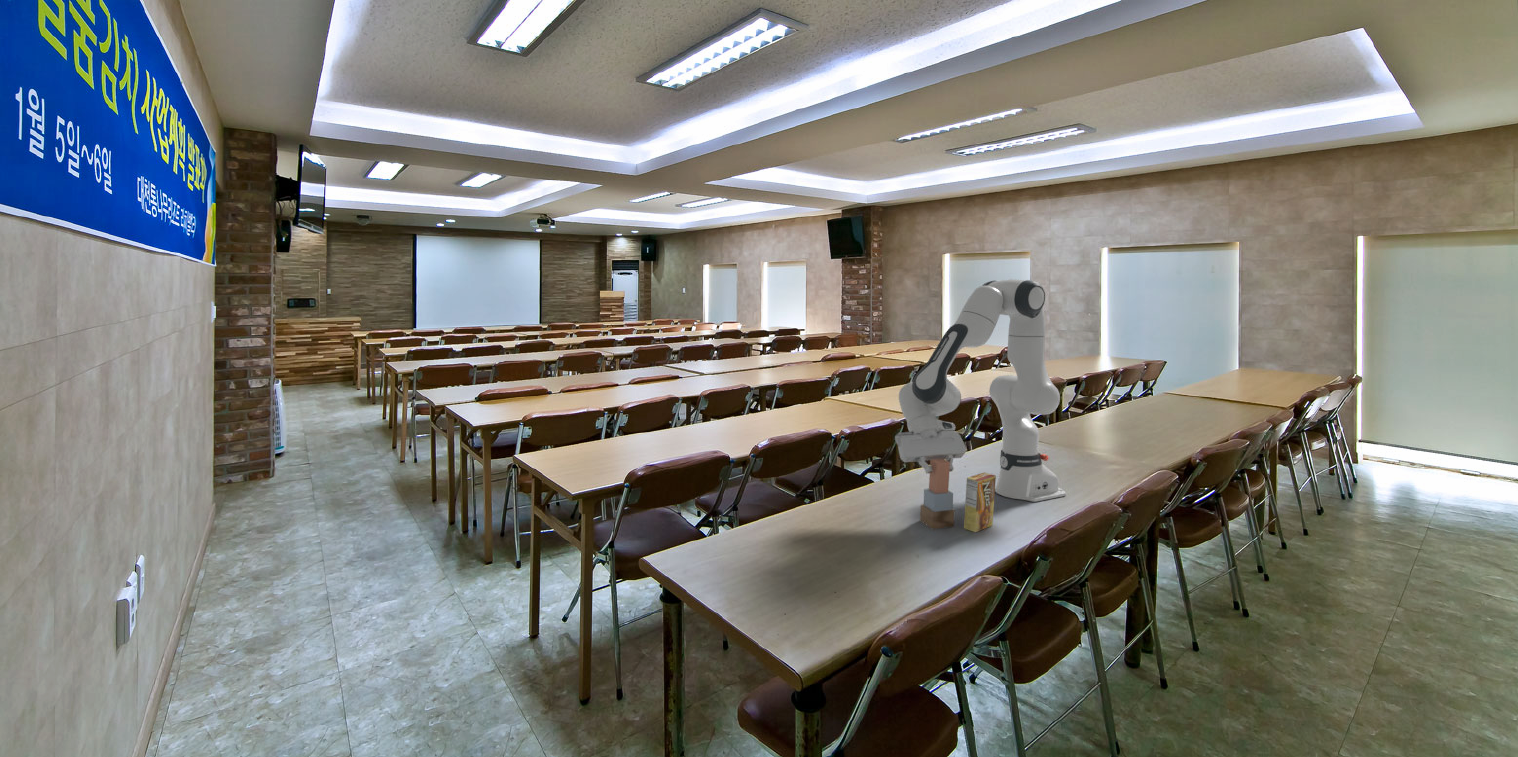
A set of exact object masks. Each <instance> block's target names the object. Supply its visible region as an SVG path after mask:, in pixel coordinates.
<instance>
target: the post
mask: <svg viewBox="0 0 1518 757" xmlns="http://www.w3.org/2000/svg"><path fill="white" fill-rule="evenodd" d="M929 461H930V462H929V466H930V465H931V466H932V469H933V472H932V473H929V481H928V488H929V490H931V491H933V492H934V493H948V491H949V485H950V484H949V483H950V472H949V470H950V462H948V461H946V459H930V460H929Z"/></svg>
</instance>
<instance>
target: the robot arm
mask: <svg viewBox="0 0 1518 757" xmlns="http://www.w3.org/2000/svg"><path fill="white" fill-rule="evenodd" d="M1045 301H1046V292H1045V290H1044V288H1043V286H1042V285H1041V283H1039V282H1037V281H1034V280H1030V279H1027V280H1024V279H1023V280H1022V279H1015V278H1014V279H1011V278H1010V279H1006V280H1005V279H1002V280H990V281H987V282H985V283H984V284H982V285H980V286H978V287H977V288H975V289H974V290H973V292H972V293H971V295H970V296H969V298H968V299H967V301H966V302H965V304H964V305H963V307H962V309H961V311H960V314H959V315H958V316H957V319H956V321H955V323H954V324H953V325H952V326H949V328H948V330H946V332H945V333H944V334H943V336H942V338H941V339H940V340H939V343H938V344H937V346H936V347H935V348H934V350H933V353H932V354H931V356H930V357H929V359H928V360H927V362H926V364H925V365H924V366H923V367H922V368H921V369H920V370H919V371H917V373H916V374H915V376H914V377H913V379H912V381H910V382H908V383H906V384H904V385H903V386H902V387H901V388H900V389H899V393H898V400H899V406H900V409H901V413H902V415H903V417H904V418H905V420H906V426H907V429H908V431H905V432H898V433H896V435H895V436H894V440H895V444H896V445H897V448H898V453H899V454H898V455H899V459H900V460H901V461H902V462H904V463H911V462H912V463H913V462H917V463H918V465H919V466H921V467H922V469H924V470H925V471H924V472H925V473H926V474H930V473H932V472H933V469H932V466H931V465H930V464H928V463H927V462H926V461H930V459H944V460H946V461H948V462H950V470H949V473H950V472H953V471H954V470H955V469H954V466H953V462H954V459H961V458H963V456H964V455H965V454H966V452H967V447H966V445H965V442H964V441H963V438H962V437H961V435H960V434H959V433H958V432H957V430H956V425H955V423H953V422H949V421H945V420H941V419H938V418H937V417H941V416H945V415H947V414H950V413H952V412H954V411H955V410H957V408H958V407H959V406H960V404H961V401H962V394H961V391H960V389H958V387H957V386H955V384H954V383H953V382H951V381H950V380H949V379H948V371H949V369H950V367H951V366H952V364H953V362H954V361H955V359H956V357H957V355H958V354H959V352H960V351H961V350H962V349H963V348H970V349H972V348H973V349H974V348H979V347H981V346H983V345H985V344H986V343H987V342H988V341H989V340H990V338H991V336H992V335H993V332H994V330H995V328H996V326H997V323H998V320H999V318H1000V315H1002V316H1003V315H1004V316H1008V317H1009V325H1008V326H1009V327H1008V333H1007V334H1008V335H1007V354H1006V356H1007V360H1008V362H1009V363H1010V364H1011V365H1012V367H1013V368H1014V371H1015V373H1016V374H1015V375H1014V374H1007V375H1006V374H1005V375H999V376H996V377H995V378H994V379H992V382H991V383H990V385H989V391H988V393H989V395H990V398H991V399H992V401H993V402H994V404H995V405H996V407H997V410H998V414H999V415H1000V419H1001V424H1002V446H1001V447H1002V448H1001V449H1000V457H999V462H1000V463H999V464H1000V465H999V466H1000V469H999V475H998V479H997V481H996V484H995V493H996V494H998V495H1001V496H1003V497H1005V498H1009V499H1016V500H1023V501H1027V502H1028V501H1029V502H1032V503H1033V502H1041V501H1046V500H1051V499H1055V498H1056V499H1057V498H1061V497H1066V491H1065V490H1064V489H1062V488H1061V487H1059V479H1058V476H1057V475H1056V474H1055V473H1054V472H1053V471H1051V470H1050V469H1049V468H1048V467H1047V466H1046V465H1044V464H1043V462H1042V461H1044V462H1047V461H1049V458H1050V456H1049V455H1047V454H1045V453H1042V454H1041V453H1040V452H1039V443H1040V442H1039V441H1040V440H1039V439H1040V430H1039V428H1038V426H1037V425H1036V424H1035V422H1034V420H1033V419H1032V417H1031V414H1032V415H1041V416H1042V415H1050V414H1052V413H1054V412H1055V411H1056V410H1057V408H1058V406H1059V405H1060V402H1061V401H1060V400H1061V396H1060V395H1061V394H1060V392H1059V389H1058V388H1057V387H1056V385H1054V383H1053V382H1052V379H1050V376H1049V373H1048V370H1047V367H1046V361H1045V345H1046V344H1045V343H1046V342H1045V341H1046V319H1045V311H1044V305H1045ZM955 430H956V431H955Z"/></svg>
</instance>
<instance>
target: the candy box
mask: <svg viewBox="0 0 1518 757" xmlns="http://www.w3.org/2000/svg"><path fill="white" fill-rule="evenodd" d="M996 478H997V476H996V475H995V474H993V473H988V472H981V473H978V474H975V475H971V476H968V477H966V485H965V486H966V487H965V488H966V489H965V504H964V518H963V519H964V522H963V529H964V530H966V531H967V530H968V531H970V532H973V533H977V532H980V531H983V530H984V529H987V528H990V527H992V526H993V522H994V509H995V508H994V507H995V496H996V495H995V493H996V492H995V488H996V482H997V481H996V480H997V479H996Z"/></svg>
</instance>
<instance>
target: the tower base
mask: <svg viewBox="0 0 1518 757" xmlns="http://www.w3.org/2000/svg"><path fill="white" fill-rule="evenodd" d="M919 519H920V520H921V521H920V520H919V521H920V522H921V523H923V522H924V523H925V524H924V523H923V524H924V525H926V524H927V525H928V527H929V528H930V529H931V528H932V530H934V529H935V528H936V529H943V528H944V527H946V528H952V527H953V526H955V509H953V510H947V511H938V512H933V511H932V510H930V509H929V508H927V507H926V506H924V503H923V504H920V517H919ZM927 525H926V526H927ZM953 528H954V527H953ZM944 529H945V528H944Z"/></svg>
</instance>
